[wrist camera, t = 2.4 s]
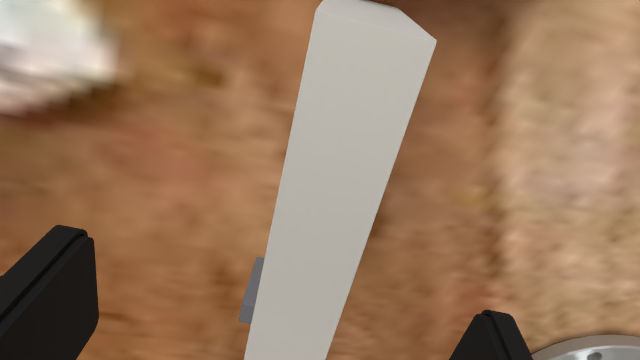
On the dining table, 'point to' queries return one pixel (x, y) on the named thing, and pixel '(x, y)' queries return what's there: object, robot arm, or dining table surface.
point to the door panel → (333, 173)
